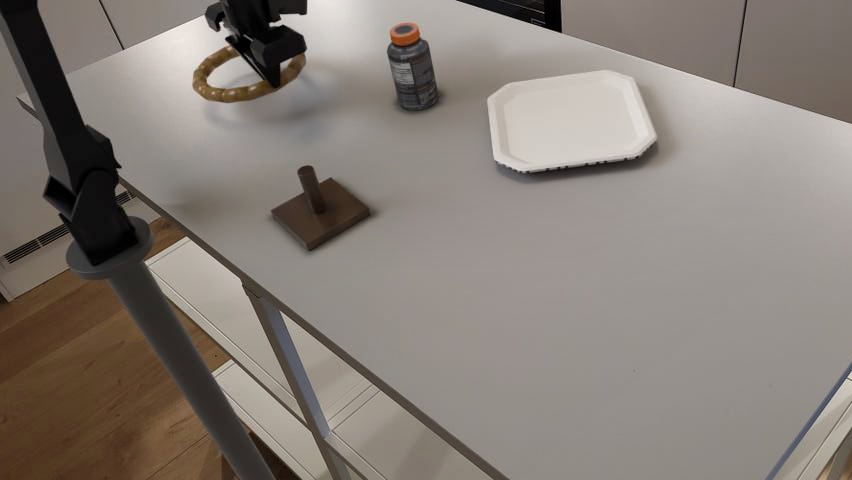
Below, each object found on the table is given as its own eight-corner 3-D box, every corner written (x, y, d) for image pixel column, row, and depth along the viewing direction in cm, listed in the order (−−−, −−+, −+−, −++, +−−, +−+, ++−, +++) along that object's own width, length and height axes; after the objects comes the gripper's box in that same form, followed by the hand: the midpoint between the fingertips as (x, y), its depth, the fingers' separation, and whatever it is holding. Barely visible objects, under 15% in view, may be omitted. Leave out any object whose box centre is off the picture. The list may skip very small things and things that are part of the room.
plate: (487, 98, 109) (485, 85, 107) (630, 79, 108) (630, 65, 107) (497, 187, 94) (495, 173, 93) (663, 165, 93) (664, 151, 92)
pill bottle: (432, 85, 113) (419, 13, 105) (443, 104, 109) (430, 32, 101) (394, 95, 113) (378, 24, 105) (403, 115, 108) (387, 43, 100)
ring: (226, 119, 105) (220, 106, 104) (177, 80, 116) (172, 68, 115) (328, 68, 112) (324, 55, 111) (273, 35, 123) (269, 23, 121)
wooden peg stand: (308, 251, 90) (290, 205, 85) (273, 217, 95) (254, 172, 90) (370, 214, 93) (357, 168, 88) (333, 184, 99) (318, 138, 94)
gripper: (324, -26, 95) (354, 83, 106) (257, -60, 106) (290, 42, 117) (246, 7, 91) (285, 117, 102) (184, -31, 102) (225, 71, 113)
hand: (273, 84), depth 109 cm, fingers closed on ring, 2 cm apart
